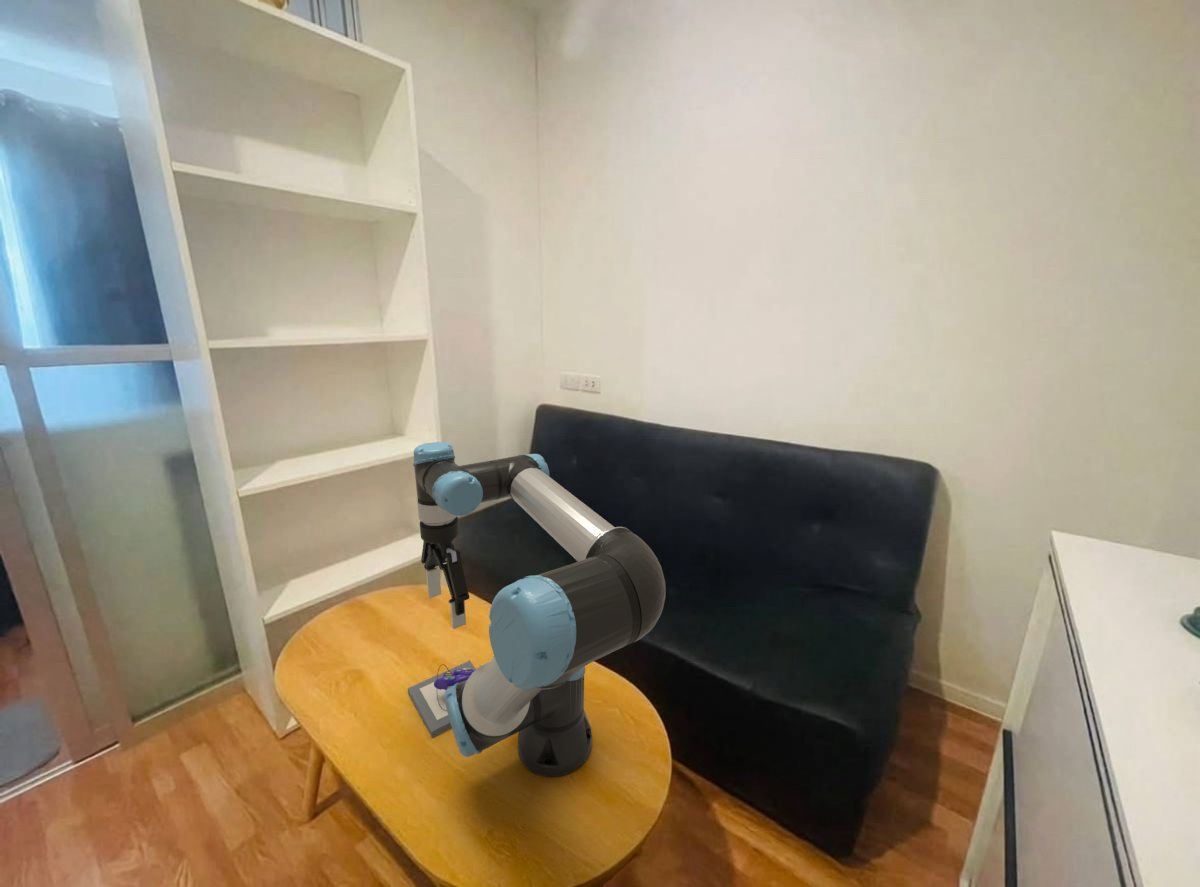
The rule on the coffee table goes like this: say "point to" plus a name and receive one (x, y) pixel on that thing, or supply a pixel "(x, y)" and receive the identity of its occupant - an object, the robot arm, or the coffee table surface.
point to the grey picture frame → (433, 702)
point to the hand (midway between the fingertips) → (446, 610)
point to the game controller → (452, 678)
